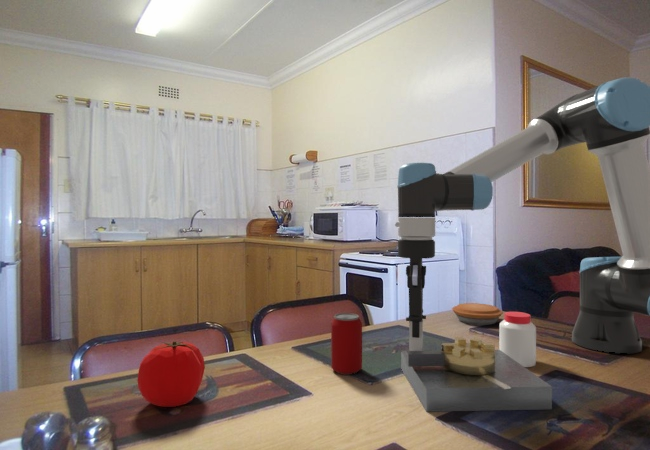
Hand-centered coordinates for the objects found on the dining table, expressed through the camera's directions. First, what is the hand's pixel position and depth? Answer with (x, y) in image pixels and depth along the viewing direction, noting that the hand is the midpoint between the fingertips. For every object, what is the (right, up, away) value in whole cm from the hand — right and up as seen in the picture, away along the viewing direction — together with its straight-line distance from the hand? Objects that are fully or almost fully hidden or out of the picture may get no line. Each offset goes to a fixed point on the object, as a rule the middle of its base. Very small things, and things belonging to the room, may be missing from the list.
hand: (416, 351), depth 87 cm
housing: (+9, -6, -5) cm, 12 cm away
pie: (+30, -5, +48) cm, 57 cm away
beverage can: (-14, -6, +4) cm, 16 cm away
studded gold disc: (+6, -1, -5) cm, 8 cm away
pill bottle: (+26, -6, +10) cm, 28 cm away
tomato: (-47, -6, -11) cm, 48 cm away
